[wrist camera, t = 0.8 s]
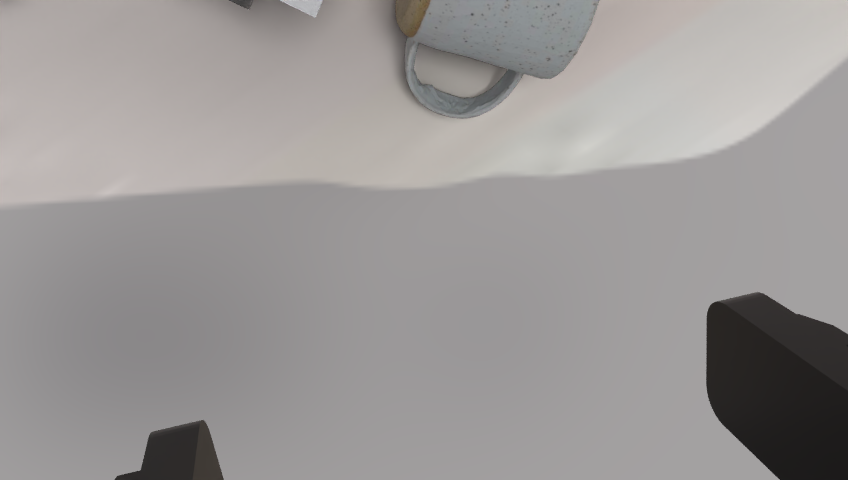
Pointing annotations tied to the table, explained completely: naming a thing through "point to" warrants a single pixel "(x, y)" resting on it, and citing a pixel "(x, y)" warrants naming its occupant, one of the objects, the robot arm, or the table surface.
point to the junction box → (307, 3)
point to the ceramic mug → (493, 42)
